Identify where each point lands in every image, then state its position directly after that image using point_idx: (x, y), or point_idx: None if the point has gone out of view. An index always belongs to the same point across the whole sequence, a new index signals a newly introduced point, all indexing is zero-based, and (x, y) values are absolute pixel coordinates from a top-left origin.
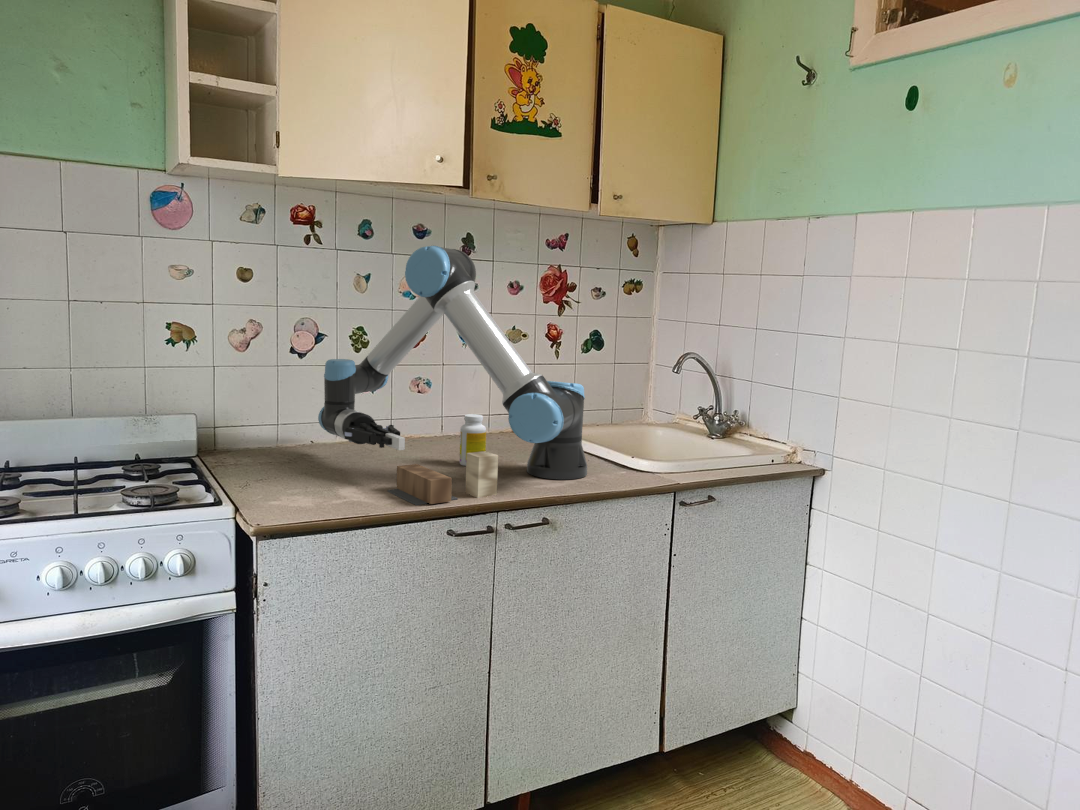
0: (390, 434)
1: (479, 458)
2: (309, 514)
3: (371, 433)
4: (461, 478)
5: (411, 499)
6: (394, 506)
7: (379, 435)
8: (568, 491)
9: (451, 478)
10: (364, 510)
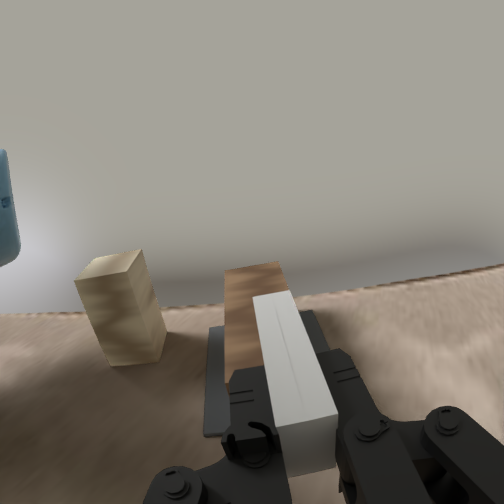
0: (305, 375)
1: (141, 251)
2: (501, 287)
3: (465, 439)
4: (59, 463)
5: (311, 332)
6: (357, 312)
7: (391, 431)
8: (32, 324)
9: (226, 270)
10: (417, 299)
